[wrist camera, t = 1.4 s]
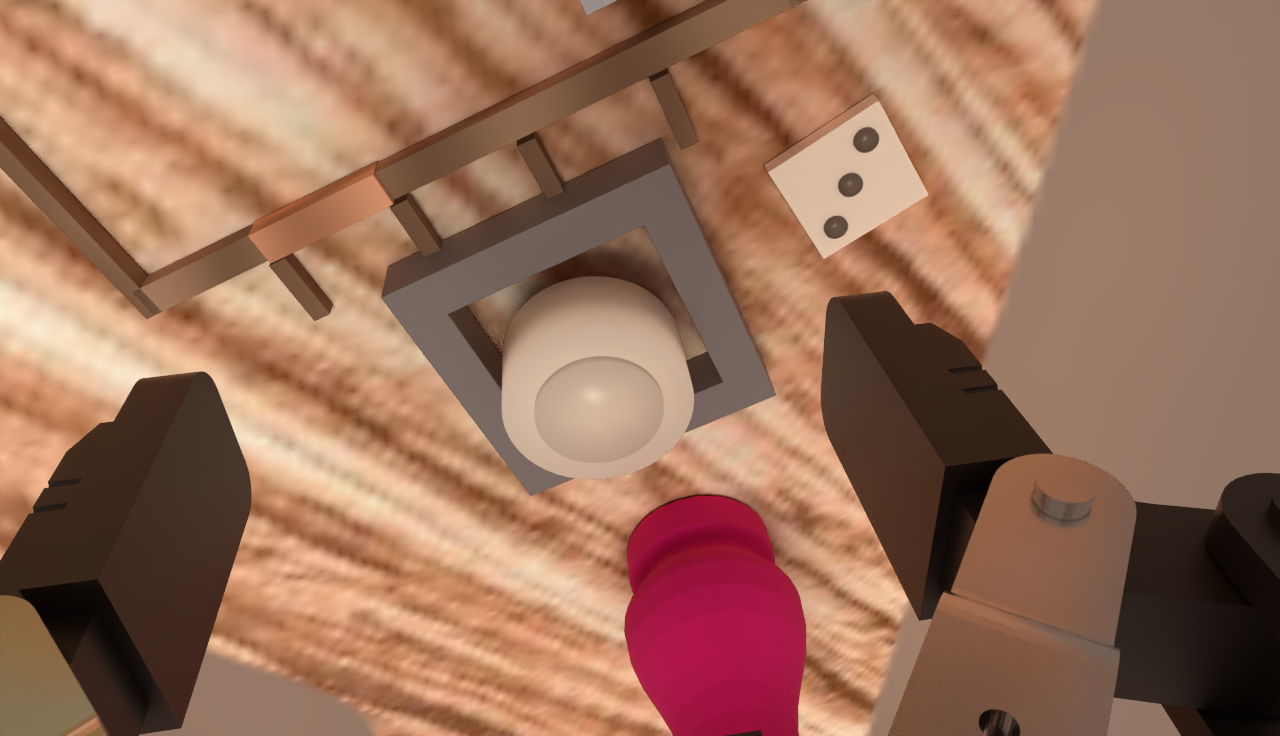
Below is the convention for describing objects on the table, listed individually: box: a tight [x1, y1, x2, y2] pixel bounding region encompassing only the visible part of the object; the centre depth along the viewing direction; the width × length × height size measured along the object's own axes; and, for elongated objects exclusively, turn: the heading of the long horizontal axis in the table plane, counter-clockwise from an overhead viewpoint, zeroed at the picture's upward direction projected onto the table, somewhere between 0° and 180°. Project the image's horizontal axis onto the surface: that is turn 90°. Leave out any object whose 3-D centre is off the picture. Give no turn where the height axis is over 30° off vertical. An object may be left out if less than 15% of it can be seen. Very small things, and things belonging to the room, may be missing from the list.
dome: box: [502, 276, 694, 480], centre depth 30 cm, size 6×6×3 cm
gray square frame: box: [381, 138, 776, 496], centre depth 32 cm, size 10×10×2 cm
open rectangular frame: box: [0, 0, 806, 321], centre depth 26 cm, size 23×14×1 cm, turn 114°
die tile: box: [764, 94, 928, 259], centre depth 30 cm, size 4×4×1 cm
